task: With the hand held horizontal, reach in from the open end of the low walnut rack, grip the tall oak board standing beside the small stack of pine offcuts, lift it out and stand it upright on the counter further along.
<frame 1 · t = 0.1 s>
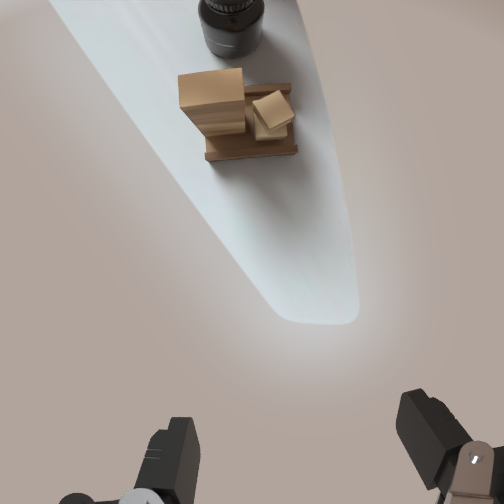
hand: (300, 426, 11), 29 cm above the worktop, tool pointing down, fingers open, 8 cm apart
small pine offcut: (271, 115, 32), point 5 cm above the worktop, touching pine offcut
pine offcut: (267, 123, 35), point 1 cm above the worktop, touching small pine offcut, walnut rack
oak board: (224, 124, 35), point 1 cm above the worktop, touching walnut rack
walnut rack: (248, 124, 36), on the worktop
supplement bottle: (233, 38, 34), on the worktop
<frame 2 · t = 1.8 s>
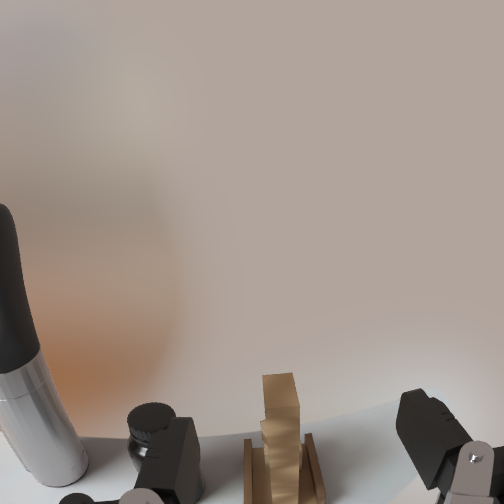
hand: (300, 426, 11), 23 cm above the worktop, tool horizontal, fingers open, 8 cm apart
small pine offcut: (280, 442, 31), point 5 cm above the worktop, touching pine offcut
pine offcut: (282, 462, 32), point 1 cm above the worktop, touching small pine offcut, walnut rack
oak board: (283, 493, 27), point 1 cm above the worktop, touching walnut rack
walnut rack: (282, 481, 30), on the worktop
supplement bottle: (177, 489, 29), on the worktop
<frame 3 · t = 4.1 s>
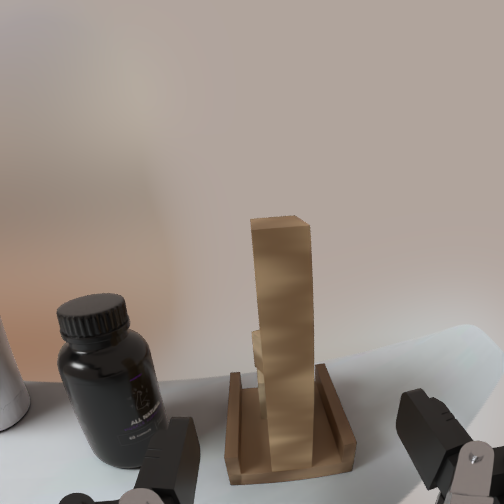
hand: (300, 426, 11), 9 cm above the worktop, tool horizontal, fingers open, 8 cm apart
small pine offcut: (281, 368, 23), point 5 cm above the worktop, touching pine offcut
pine offcut: (285, 404, 24), point 1 cm above the worktop, touching small pine offcut, walnut rack
oak board: (288, 446, 19), point 1 cm above the worktop, touching walnut rack
walnut rack: (285, 433, 22), on the worktop
supplement bottle: (133, 443, 21), on the worktop
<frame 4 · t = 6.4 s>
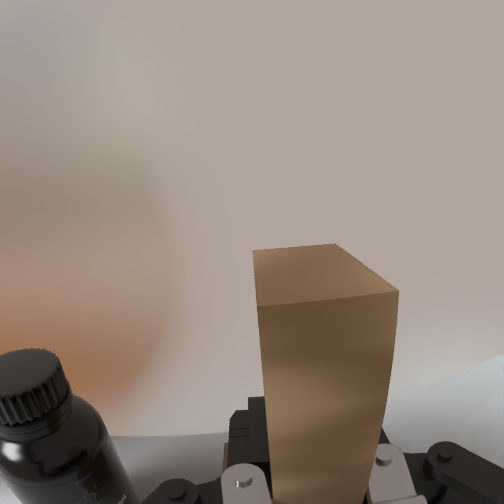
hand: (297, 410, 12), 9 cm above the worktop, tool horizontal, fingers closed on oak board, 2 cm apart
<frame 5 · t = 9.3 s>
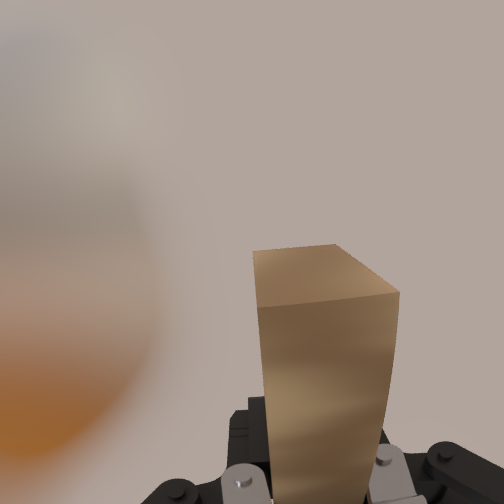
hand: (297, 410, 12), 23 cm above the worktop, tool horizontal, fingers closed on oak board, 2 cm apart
when the fingers open (10 cm above the worktop, at t = 11.9 s): oak board drops 2 cm, on the worktop.
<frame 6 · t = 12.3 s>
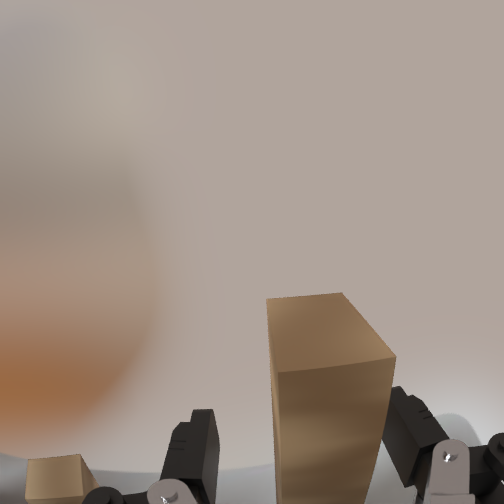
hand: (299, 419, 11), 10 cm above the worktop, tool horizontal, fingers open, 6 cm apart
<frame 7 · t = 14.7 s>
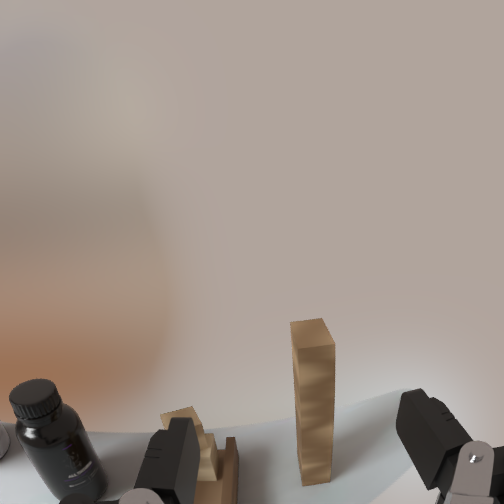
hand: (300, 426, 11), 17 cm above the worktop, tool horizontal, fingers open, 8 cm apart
small pine offcut: (187, 443, 25), point 5 cm above the worktop, touching pine offcut
pine offcut: (197, 469, 25), point 1 cm above the worktop, touching small pine offcut, walnut rack
oak board: (313, 467, 25), on the worktop
walnut rack: (194, 492, 23), on the worktop
supplement bottle: (81, 485, 23), on the worktop
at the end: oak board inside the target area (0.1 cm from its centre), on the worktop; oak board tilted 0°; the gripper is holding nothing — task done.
